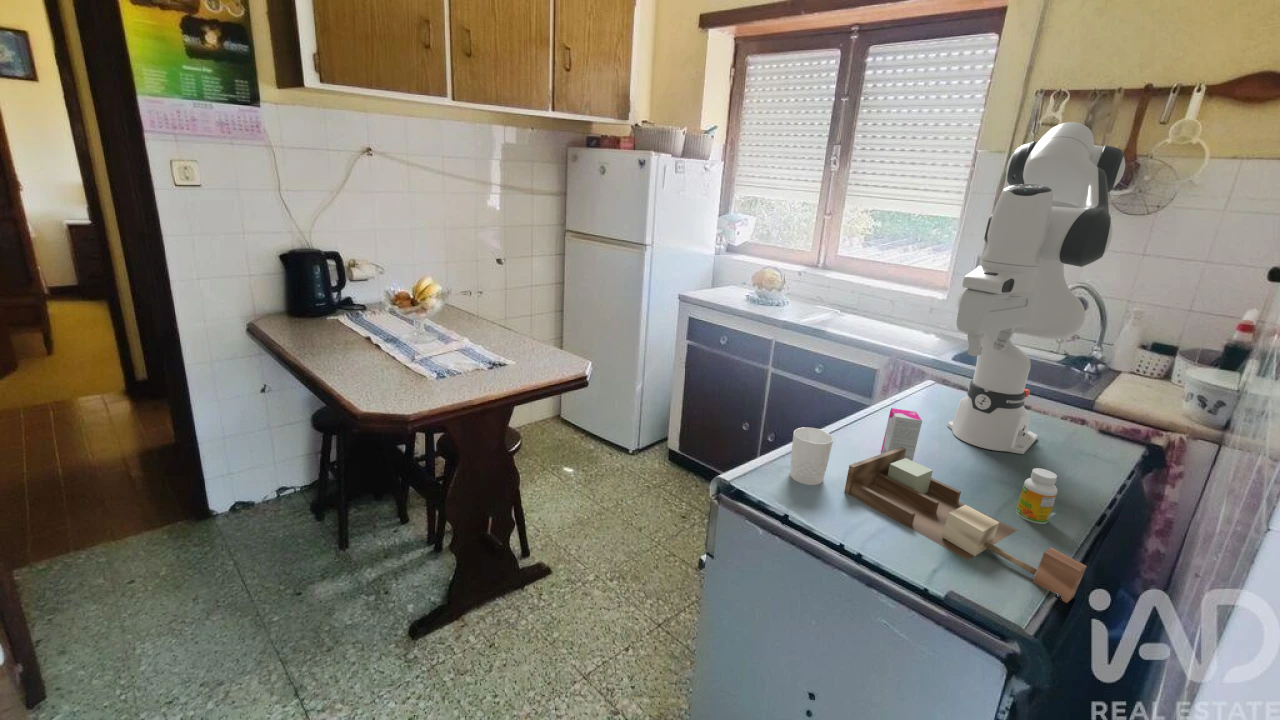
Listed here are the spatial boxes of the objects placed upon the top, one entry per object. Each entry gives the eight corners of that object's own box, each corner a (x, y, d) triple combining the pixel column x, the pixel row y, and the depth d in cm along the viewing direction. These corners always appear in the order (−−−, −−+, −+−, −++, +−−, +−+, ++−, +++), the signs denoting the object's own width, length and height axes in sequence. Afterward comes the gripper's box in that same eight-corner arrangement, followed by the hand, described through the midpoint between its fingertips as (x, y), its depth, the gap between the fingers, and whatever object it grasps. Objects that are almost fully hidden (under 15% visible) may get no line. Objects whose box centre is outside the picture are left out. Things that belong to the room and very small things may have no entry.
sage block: (901, 479, 126) (905, 457, 125) (927, 492, 121) (932, 470, 120) (885, 485, 123) (890, 463, 121) (912, 498, 118) (917, 476, 117)
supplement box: (912, 467, 133) (923, 420, 129) (884, 463, 134) (894, 416, 130) (906, 456, 138) (916, 410, 135) (879, 452, 139) (889, 407, 136)
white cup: (804, 491, 119) (812, 446, 116) (779, 473, 126) (785, 430, 123) (833, 484, 123) (841, 440, 120) (807, 467, 130) (814, 425, 127)
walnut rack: (896, 473, 129) (901, 446, 127) (1017, 531, 110) (1026, 501, 108) (843, 493, 119) (849, 465, 117) (967, 562, 100) (976, 529, 98)
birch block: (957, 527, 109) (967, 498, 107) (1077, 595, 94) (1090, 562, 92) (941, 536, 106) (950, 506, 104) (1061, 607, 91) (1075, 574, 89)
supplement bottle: (1009, 509, 118) (1021, 465, 115) (1034, 510, 118) (1047, 466, 115) (1028, 525, 112) (1041, 479, 109) (1054, 525, 113) (1068, 480, 110)
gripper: (1014, 273, 115) (996, 342, 119) (958, 277, 103) (941, 353, 107) (1050, 279, 110) (1030, 350, 114) (995, 284, 98) (976, 363, 103)
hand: (986, 352), depth 111 cm, fingers open, 8 cm apart
